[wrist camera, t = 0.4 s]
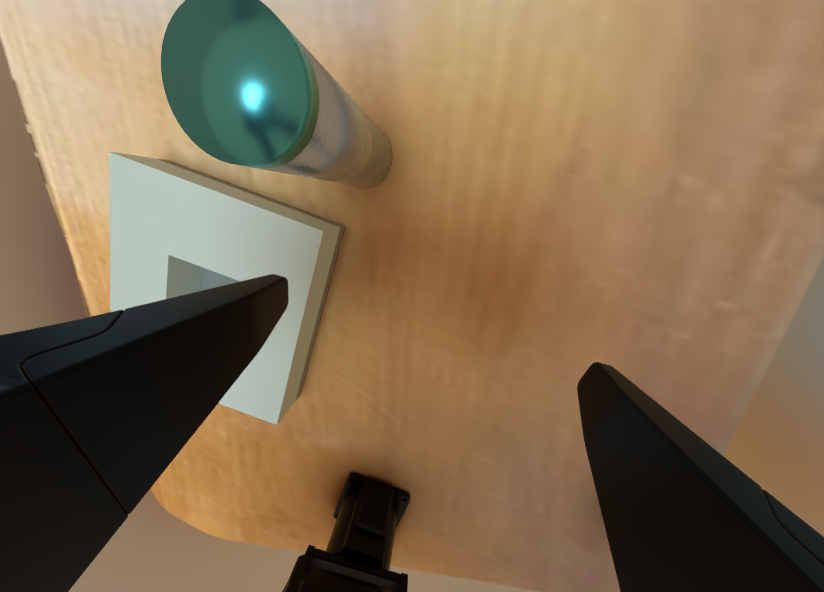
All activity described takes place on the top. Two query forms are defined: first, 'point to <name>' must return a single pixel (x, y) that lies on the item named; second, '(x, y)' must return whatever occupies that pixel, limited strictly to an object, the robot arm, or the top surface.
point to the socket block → (221, 262)
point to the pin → (264, 96)
